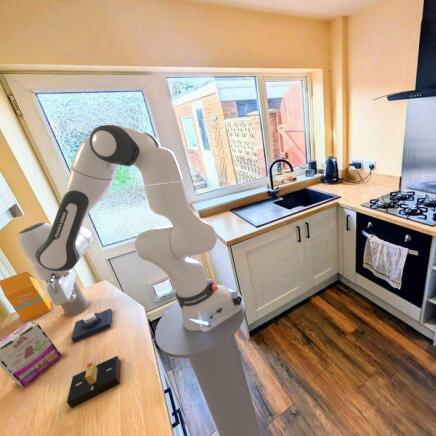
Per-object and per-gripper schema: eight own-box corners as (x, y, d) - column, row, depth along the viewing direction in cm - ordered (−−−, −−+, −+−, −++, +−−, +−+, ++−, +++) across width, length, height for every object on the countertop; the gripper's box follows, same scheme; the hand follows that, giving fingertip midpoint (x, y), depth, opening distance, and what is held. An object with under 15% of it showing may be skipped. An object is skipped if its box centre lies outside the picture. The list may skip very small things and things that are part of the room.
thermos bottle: (62, 317, 105) (27, 263, 94) (73, 304, 113) (42, 252, 101) (82, 313, 106) (50, 259, 95) (92, 300, 114) (63, 249, 102)
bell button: (96, 315, 99) (94, 311, 99) (95, 320, 96) (93, 317, 96) (85, 319, 98) (83, 315, 97) (84, 325, 95) (82, 321, 94)
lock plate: (120, 361, 83) (117, 354, 81) (119, 384, 75) (115, 377, 74) (77, 382, 77) (72, 375, 76) (71, 409, 70) (66, 402, 69)
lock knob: (95, 382, 73) (90, 374, 72) (90, 385, 73) (84, 377, 71) (97, 369, 77) (92, 361, 76) (92, 371, 77) (87, 363, 75)
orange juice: (25, 313, 111) (-1, 277, 102) (50, 302, 116) (28, 267, 108) (23, 322, 105) (-4, 285, 97) (50, 310, 110) (26, 274, 102)
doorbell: (112, 312, 105) (108, 305, 104) (111, 327, 97) (106, 320, 96) (78, 325, 100) (73, 318, 98) (73, 343, 92) (68, 335, 90)
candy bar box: (54, 353, 88) (30, 320, 82) (63, 356, 87) (39, 322, 80) (15, 384, 79) (-17, 349, 72) (24, 388, 77) (-7, 353, 71)
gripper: (61, 278, 78) (80, 311, 83) (70, 253, 94) (86, 282, 99) (35, 287, 75) (56, 321, 80) (49, 259, 91) (66, 289, 96)
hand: (73, 299), depth 90 cm, fingers closed
